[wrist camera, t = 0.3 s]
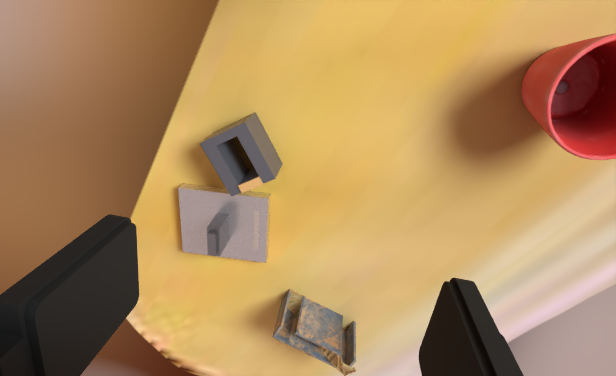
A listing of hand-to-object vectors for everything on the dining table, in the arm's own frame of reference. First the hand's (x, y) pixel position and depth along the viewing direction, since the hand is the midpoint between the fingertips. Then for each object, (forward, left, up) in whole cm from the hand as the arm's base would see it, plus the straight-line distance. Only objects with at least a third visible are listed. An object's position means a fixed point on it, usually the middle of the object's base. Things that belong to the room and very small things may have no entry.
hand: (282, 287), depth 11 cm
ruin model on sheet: (+33, +1, -36) cm, 48 cm away
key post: (+19, -13, -35) cm, 42 cm away
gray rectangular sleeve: (+8, -10, -35) cm, 37 cm away
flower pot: (-3, +24, -35) cm, 43 cm away
